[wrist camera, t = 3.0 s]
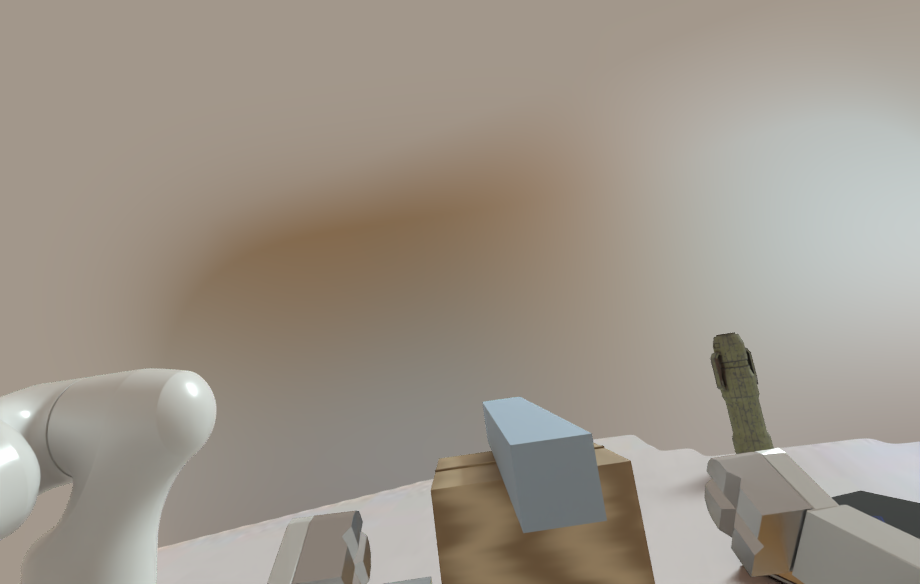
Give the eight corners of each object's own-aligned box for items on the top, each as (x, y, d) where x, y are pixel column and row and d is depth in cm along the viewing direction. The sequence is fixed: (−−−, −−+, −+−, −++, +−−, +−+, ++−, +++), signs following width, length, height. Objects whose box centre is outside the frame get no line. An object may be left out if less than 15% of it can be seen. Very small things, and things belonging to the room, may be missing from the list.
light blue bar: (523, 533, 21) (510, 445, 22) (487, 440, 47) (482, 401, 47) (607, 520, 21) (591, 433, 22) (525, 435, 47) (519, 396, 47)
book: (741, 567, 67) (730, 520, 69) (872, 533, 72) (860, 490, 74) (860, 626, 51) (843, 563, 52) (1020, 577, 56) (1001, 520, 57)
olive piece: (726, 464, 123) (696, 338, 129) (758, 456, 126) (728, 333, 133) (755, 469, 114) (721, 334, 121) (789, 461, 118) (754, 329, 124)
